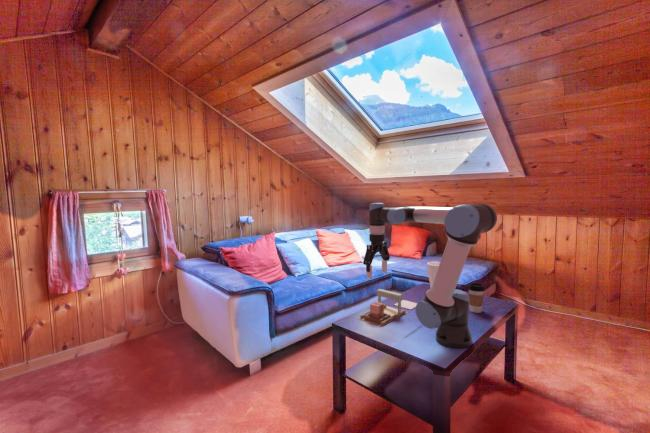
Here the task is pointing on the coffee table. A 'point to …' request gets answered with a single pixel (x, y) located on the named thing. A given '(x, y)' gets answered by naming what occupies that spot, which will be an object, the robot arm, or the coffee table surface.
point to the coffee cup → (476, 297)
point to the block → (377, 310)
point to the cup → (432, 271)
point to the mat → (407, 304)
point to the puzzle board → (389, 316)
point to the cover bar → (390, 297)
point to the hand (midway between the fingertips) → (377, 275)
